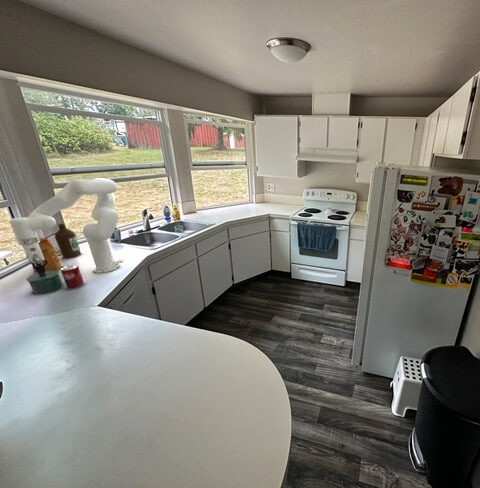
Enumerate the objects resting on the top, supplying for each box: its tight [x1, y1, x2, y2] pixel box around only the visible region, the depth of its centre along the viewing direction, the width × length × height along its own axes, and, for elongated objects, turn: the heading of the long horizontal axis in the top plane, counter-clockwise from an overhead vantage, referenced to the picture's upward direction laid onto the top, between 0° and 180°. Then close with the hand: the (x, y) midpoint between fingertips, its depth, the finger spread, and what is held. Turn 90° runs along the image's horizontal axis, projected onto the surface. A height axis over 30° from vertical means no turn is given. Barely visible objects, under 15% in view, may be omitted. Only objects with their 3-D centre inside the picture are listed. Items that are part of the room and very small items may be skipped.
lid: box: [26, 270, 60, 283], centre depth 139 cm, size 13×13×6 cm
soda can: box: [60, 264, 85, 290], centre depth 144 cm, size 7×7×12 cm
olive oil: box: [54, 222, 82, 259], centre depth 181 cm, size 11×11×25 cm
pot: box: [28, 273, 64, 295], centre depth 141 cm, size 12×17×8 cm
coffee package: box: [27, 237, 63, 274], centre depth 160 cm, size 10×12×22 cm
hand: (39, 269), depth 138 cm, fingers open, 9 cm apart
